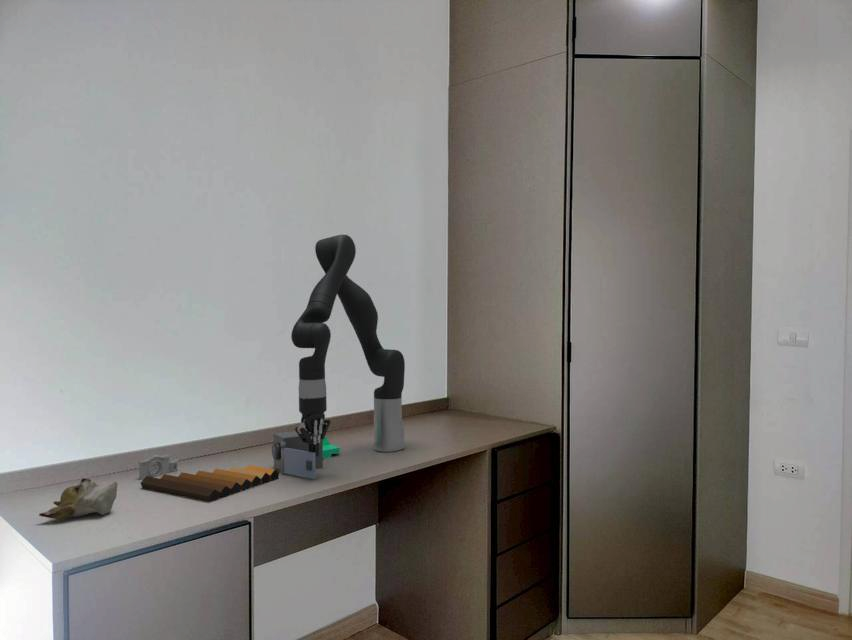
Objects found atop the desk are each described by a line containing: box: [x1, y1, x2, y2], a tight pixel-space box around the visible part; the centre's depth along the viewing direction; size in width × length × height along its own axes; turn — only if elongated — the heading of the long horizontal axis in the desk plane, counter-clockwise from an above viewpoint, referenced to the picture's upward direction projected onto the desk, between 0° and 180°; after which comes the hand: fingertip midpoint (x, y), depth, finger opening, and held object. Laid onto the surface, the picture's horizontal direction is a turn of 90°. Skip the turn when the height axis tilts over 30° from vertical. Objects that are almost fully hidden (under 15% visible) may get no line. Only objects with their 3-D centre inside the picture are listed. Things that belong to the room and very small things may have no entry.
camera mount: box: [323, 435, 341, 459], centre depth 202 cm, size 12×8×10 cm, turn 131°
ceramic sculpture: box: [38, 478, 118, 520], centre depth 144 cm, size 11×9×15 cm
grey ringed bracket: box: [137, 453, 179, 480], centre depth 179 cm, size 12×2×6 cm, turn 149°
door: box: [280, 447, 316, 480], centre depth 176 cm, size 12×2×7 cm, turn 57°
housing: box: [271, 430, 324, 472], centre depth 186 cm, size 13×10×11 cm
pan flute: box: [140, 464, 280, 503], centre depth 170 cm, size 25×3×25 cm
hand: (314, 456), depth 176 cm, fingers closed
